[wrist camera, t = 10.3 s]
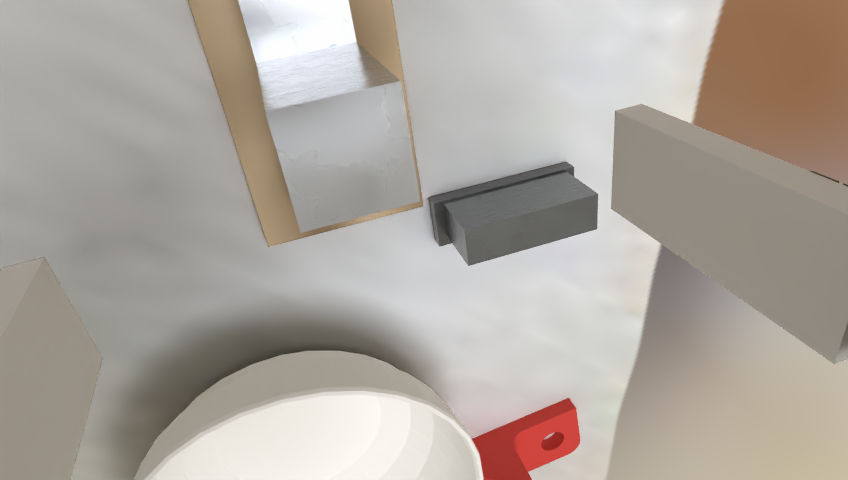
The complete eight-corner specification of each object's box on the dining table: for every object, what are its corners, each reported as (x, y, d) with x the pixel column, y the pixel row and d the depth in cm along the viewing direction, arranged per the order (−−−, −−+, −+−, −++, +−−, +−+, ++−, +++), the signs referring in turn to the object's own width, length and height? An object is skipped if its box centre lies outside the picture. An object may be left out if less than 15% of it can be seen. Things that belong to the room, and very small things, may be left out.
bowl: (481, 316, 35) (534, 398, 29) (396, 521, 41) (424, 622, 35) (156, 280, 28) (135, 379, 21) (117, 535, 34) (93, 665, 28)
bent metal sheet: (297, 202, 27) (322, 307, 19) (231, -25, 22) (231, -3, 14) (377, 182, 28) (432, 275, 20) (332, -43, 23) (382, -31, 15)
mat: (267, 241, 28) (268, 246, 28) (163, -79, 21) (162, -79, 20) (420, 201, 30) (423, 206, 29) (371, -110, 22) (374, -111, 22)
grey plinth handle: (435, 239, 31) (459, 277, 28) (372, -189, 21) (398, -212, 18) (566, 203, 32) (605, 234, 29) (563, -213, 23) (621, -239, 19)
